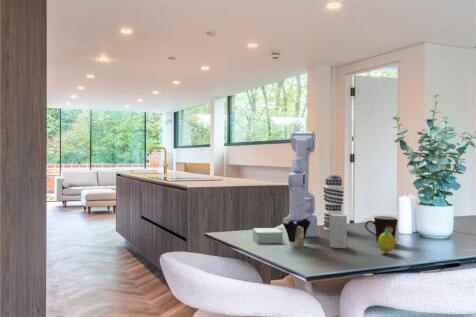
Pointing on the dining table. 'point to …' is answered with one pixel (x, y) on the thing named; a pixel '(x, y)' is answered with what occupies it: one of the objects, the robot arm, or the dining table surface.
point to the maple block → (298, 237)
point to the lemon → (386, 241)
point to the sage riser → (267, 235)
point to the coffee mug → (383, 225)
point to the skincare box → (338, 231)
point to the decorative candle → (332, 198)
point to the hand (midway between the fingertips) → (296, 240)
